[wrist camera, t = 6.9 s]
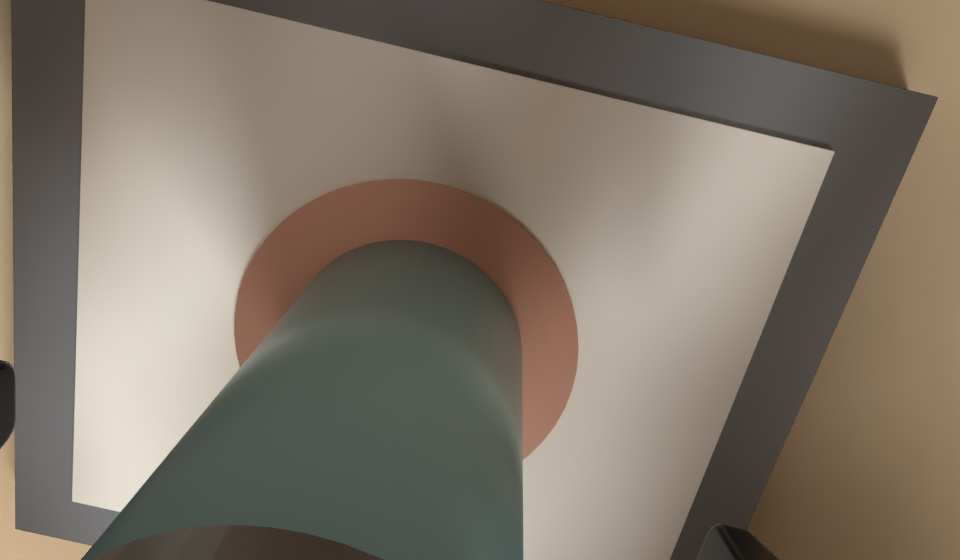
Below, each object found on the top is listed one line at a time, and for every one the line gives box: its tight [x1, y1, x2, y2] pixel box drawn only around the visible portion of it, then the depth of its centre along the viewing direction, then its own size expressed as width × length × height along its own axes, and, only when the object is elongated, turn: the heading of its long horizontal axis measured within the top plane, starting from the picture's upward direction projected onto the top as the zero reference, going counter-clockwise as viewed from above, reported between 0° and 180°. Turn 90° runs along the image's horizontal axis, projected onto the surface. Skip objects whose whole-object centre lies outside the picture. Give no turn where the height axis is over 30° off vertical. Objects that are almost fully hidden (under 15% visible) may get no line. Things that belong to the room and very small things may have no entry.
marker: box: [81, 240, 523, 560], centre depth 8 cm, size 4×4×9 cm
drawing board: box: [11, 0, 938, 560], centre depth 13 cm, size 14×12×1 cm
